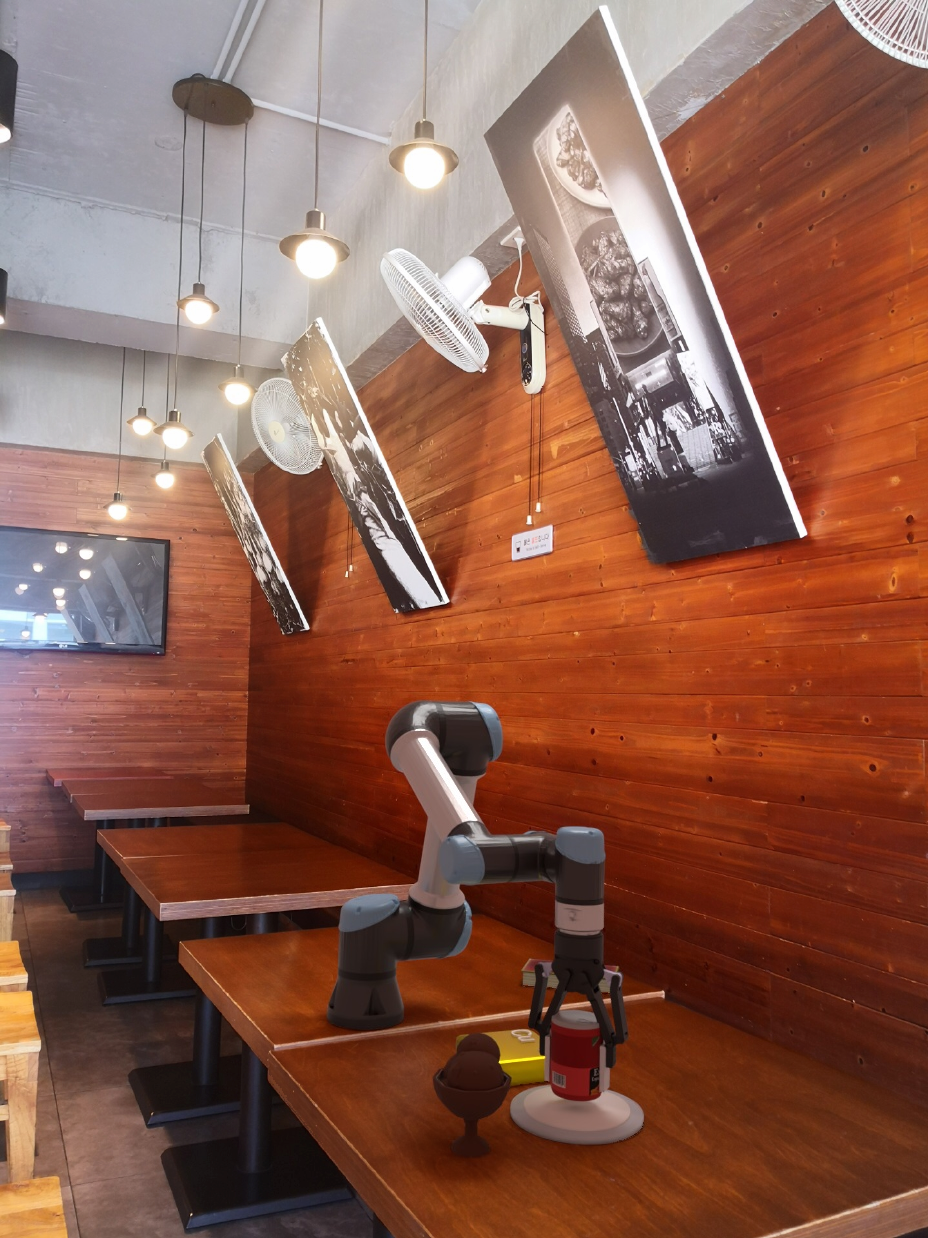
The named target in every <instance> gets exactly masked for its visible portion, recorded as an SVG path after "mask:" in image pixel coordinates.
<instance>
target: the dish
mask: <svg viewBox="0 0 928 1238" xmlns="http://www.w3.org/2000/svg"><path fill="white" fill-rule="evenodd" d="M510 1117H511V1119H512V1121H513V1122H514V1123H515V1124H516V1125H517V1126H518V1127H519V1128H521V1129H523V1130H524V1131H525V1132H528V1133H529V1134H532V1135H534V1136H537V1137H538V1138H539V1137H540V1138H541V1139H542V1138H543V1139H546V1140H549V1141H554V1142H558V1143H564V1144H569V1145H571V1144H572V1145H584V1146H585V1145H586V1146H587V1145H595V1146H596V1145H605V1144H606V1145H607V1144H614V1143H618V1142H620V1141H619V1140H622V1141H625V1140H627V1139H626V1138H628V1137H630V1136H632V1135H634V1134H635V1133H637V1132H638V1131H639V1130H640V1129H641V1128H642V1129H643V1127H644V1124H643V1122H644V1119H645V1118H644V1117H645V1115H644V1111H643V1109H642V1107H641V1106H640V1105H639V1104H638V1103H637V1102H636V1101H635V1100H633V1099H631V1098H629V1097H627V1096H625V1095H623V1094H621V1093H619V1092H616V1091H614V1090H610V1089H607V1090H606V1091H605V1092H602V1093H601V1096H600V1097H599V1098H597V1099H595V1100H591V1101H571V1100H566V1099H563V1098H560V1097H558V1096H556V1095H555V1094H554V1093H553V1092H552V1089H551V1085H550V1084H547V1085H546V1084H545V1085H539V1086H535V1087H530V1088H528V1089H526V1090H523V1091H522V1092H520V1093H518V1094H517V1095H515V1096H514V1097H513V1098H512V1099H511V1102H510ZM644 1123H645V1122H644ZM642 1126H643V1127H642ZM642 1129H641V1130H642ZM641 1130H640V1131H641ZM640 1131H639V1132H640ZM637 1134H638V1133H637ZM634 1136H635V1135H634ZM632 1137H633V1136H632ZM630 1138H631V1137H630ZM624 1139H625V1140H624ZM628 1139H629V1138H628ZM617 1141H618V1142H617ZM613 1142H614V1143H613Z"/></svg>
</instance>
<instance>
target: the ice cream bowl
mask: <svg viewBox="0 0 928 1238" xmlns="http://www.w3.org/2000/svg"><path fill="white" fill-rule="evenodd" d="M482 1033H483V1032H474V1033H468V1034H469V1035H468V1036H466V1037H465V1038H464V1039H462V1040H461V1041H460V1042H459V1044H458V1046H457V1049H456V1048H455V1053H454V1054H453V1055H452V1056H451V1057H449V1059H448V1060H447V1062H446V1064H445V1065H444V1067H442V1068H438V1069H437V1070H436V1072H435V1074H434V1075H433V1076H432V1084H433V1089H434V1091H435V1094H436V1097H437V1098H438V1100H439V1101H440V1102H441V1103H442V1105H444V1107H445V1108H446V1109H448V1111H449V1112H450V1113H451V1114H453V1115H454V1116H455V1117H456V1118H460V1119H463V1122H464V1134H463V1135H461V1136H458V1137H457V1138H455V1139H454V1140H453V1141H452V1144H451V1146H450V1150H451V1151H452V1152H453V1153H454V1155H458V1156H461V1157H464V1158H481V1157H483V1156H486V1155H488V1154H489V1153H490V1150H491V1145H490V1143H489V1142H488V1141H487V1140H485V1139H484V1138H483V1137H482V1136H479V1135H478V1123H479V1120H481V1119H485V1118H488V1117H489V1116H491V1115H493V1114H494V1113H495V1112H496V1111H497V1110H499V1109H500V1108H501V1107H502V1106H503V1104H504V1101H505V1099H506V1098H507V1095H508V1093H509V1090H510V1088H511V1086H510V1084H511V1079H512V1077H511V1076H509V1075H508V1074H507V1073H506V1072H504V1071H503V1069H502V1067H501V1065H500V1063H499V1060H500V1056H501V1055H500V1049H499V1047H498V1045H497V1043H496V1041H495V1040H494V1039H493V1038H492V1037H490V1036H488V1035H486V1034H482ZM456 1051H457V1052H456Z"/></svg>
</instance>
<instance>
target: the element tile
mask: <svg viewBox="0 0 928 1238" xmlns="http://www.w3.org/2000/svg"><path fill="white" fill-rule="evenodd" d="M481 1033H482V1034H486V1035H488V1036H490V1037H492V1038H493V1039H494V1040H495V1041H496V1043H497V1045H498V1047H499V1049H500V1055H501V1056H500V1060H499V1063H500V1065H501V1067H502V1069H503V1071H504V1072H506V1073H507V1074H508V1075H509V1076H511V1077H512V1079H511V1084H510V1087H513V1086H521V1085H520V1084H523V1085H530V1084H529V1083H532V1084H534V1083H533V1082H540V1083H545V1082H544V1076H545V1056H541V1055H540V1053H539V1040H540V1035H539V1034H537V1032H535V1031H533V1030H532V1029H530V1028H528V1029H527V1028H521V1029H511V1030H502V1031H499V1030H498V1031H488V1032H481ZM469 1034H470V1033H467V1034H460V1035H458V1036H457V1037H456V1038H455V1039H456V1040H455V1053H456V1052H457V1051H456V1049H457V1046H458V1044H459V1042H460V1041H461V1040H462V1039H464V1038H465V1037H466V1036H468V1035H469Z"/></svg>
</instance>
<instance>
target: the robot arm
mask: <svg viewBox="0 0 928 1238" xmlns="http://www.w3.org/2000/svg"><path fill="white" fill-rule="evenodd" d="M502 728H503V727H502V724H501V721H500V718H499V715H498V713H497V712H496V710H495V709H494V708H493V707H492V706H491V705H489V704H487V703H480V702H473V701H469V700H468V701H461V700H460V701H459V700H458V701H453V700H449V701H447V700H426V699H425V700H424V699H423V700H422V699H421V700H416V701H412V702H409V703H408V704H406V705H404V706H403V707H401V708H400V709H399V710H398V711H397V712H396V713H395V714H394V715H393V716H392V718H391V719H390V721H389V723H388V726H387V729H386V731H385V737H384V738H385V739H384V740H385V743H384V744H385V751H386V754H387V757H388V758H389V760H390V762H391V764H392V766H393V767H394V768H395V770H397V771H398V772H400V773H403V774H404V776H405V778H406V780H407V781H408V783H409V785H410V787H411V788H412V790H413V792H414V794H415V796H416V798H417V799H418V802H419V803H420V804H421V807H422V809H423V810H424V813H425V814H426V815H427V821H426V828H425V829H426V830H425V835H424V840H423V841H424V842H423V846H422V855H421V861H420V866H419V872H418V873H419V874H418V878H417V882H415V883H414V884H412V885H411V886H410V887H409V890H408V896H407V899H406V900H400V899H399V897H398V895H396V894H393V893H372V894H364V895H360V896H356V897H354V898H351V899H349V900H347V901H346V902H344V904H343V905H342V907H341V909H340V916H339V923H338V931H339V932H338V957H337V959H338V960H337V962H338V963H337V979H336V982H335V984H334V986H333V989H332V992H331V995H330V999H329V1002H328V1004H327V1007H326V1008H327V1011H326V1014H327V1015H326V1019H327V1021H328V1023H330V1024H331V1025H334V1026H336V1027H340V1028H344V1029H348V1030H349V1029H351V1030H358V1031H359V1030H365V1031H368V1030H380V1029H386V1028H387V1029H388V1028H391V1027H394V1026H397V1025H399V1024H401V1023H402V1022H403V1021H404V1016H405V1006H404V1002H403V999H402V995H401V992H400V988H399V984H398V979H397V964H398V962H405V961H406V962H407V961H417V960H418V961H419V960H420V961H421V960H429V959H430V960H431V959H436V960H441V959H445V958H447V957H455V956H457V955H459V954H460V953H462V952H463V951H464V950H465V949H466V947H467V945H468V943H469V942H470V941H469V940H470V938H471V935H472V928H473V921H472V919H471V918H472V916H473V915H472V910H471V907H470V905H469V902H467V900H466V897H465V894H464V893H463V891H462V890H461V889H460V886H461V885H465V886H475V885H485V884H487V885H488V884H500V883H501V884H502V883H521V882H522V883H523V882H524V883H525V882H541V881H543V882H548V883H552V884H554V887H555V889H554V890H555V893H554V894H555V895H554V896H555V897H554V898H555V899H554V902H555V903H554V904H555V905H554V906H555V907H554V910H555V911H554V925H555V927H556V928H557V929H556V930H555V931H554V944H553V945H554V949H553V950H554V957H553V959H552V960H551V961H552V962H550V963H546V962H545V961H541V962H540V963H538V964H536V965H535V967H534V970H535V977H536V982H535V987H533V994H532V1000H531V1004H530V1009H529V1014H528V1015H529V1016H528V1020H527V1021H528V1022H527V1028H528V1029H529V1030H535V1031H537V1032H538V1035H539V1036H540V1040H539V1053H540V1055H541V1056H545V1076H544V1081H548V1083H550V1074H551V1020H552V1016H554V1015H555V1014H556V1013H558V1012H559V1011H561V1010H560V1009H561V1008H562V1005H563V1003H564V1000H565V999H566V996H567V994H568V993H578V994H580V995H585V996H586V1000H587V1001H588V1002H589V1004H590V1007H591V1009H592V1013H594V1015H595V1017H596V1020H597V1023H599V1028H600V1031H601V1034H602V1036H603V1039H604V1040H603V1044H602V1045H601V1046H600V1082H599V1092H605V1091H606V1090H609V1088H610V1080H611V1079H610V1077H611V1076H610V1073H611V1072H610V1069H613V1068H614V1067H615V1065H616V1063H617V1045H623V1044H625V1042H626V1041H627V1040H628V1039H629V1035H630V1034H629V1028H628V1021H627V1016H626V1008H625V1002H624V995H623V989H622V987H623V982H624V973H623V972H622V971H619V972H617V973H615V972H612V971H609V970H606V968H605V963H604V933H603V931H601V930H603V928H604V927H605V925H604V923H605V922H604V921H605V919H604V918H605V916H604V915H605V914H604V913H605V908H604V907H605V903H604V902H605V901H604V897H605V874H606V873H605V871H606V870H605V869H606V868H605V865H606V856H607V855H606V852H605V836H604V833H603V831H602V830H600V829H598V828H594V827H587V826H563V827H559V828H558V829H557V832H556V834H552V833H549V832H547V831H543V830H541V831H536V830H528V831H526V832H524V833H521V834H520V833H519V834H492V833H490V831H489V830H488V828H487V827H486V824H485V823H484V822H483V820H482V818H481V817H480V815H479V814H478V813H477V811H476V809H475V808H474V801H475V795H476V788H477V783H478V780H479V779H481V778H483V777H484V776H485V775H486V774H487V768H488V764H489V763H493V762H494V761H497V759H498V758H499V757H500V755H501V753H502V752H503V742H504V739H503V738H504V737H503V735H504V734H503V729H502ZM551 970H553V972H554V974H555V976H556V977H557V979H558V981H559V983H558V985H557V988H556V989H554V994H553V997H552V999H551V1001H550V1003H549V1004H548V1008H547V1010H546V1013H545V1014H544V1017H543V1019H542V1016H543V1009H544V1004H545V999H546V993H547V983H548V976H550V975H551ZM603 977H604V978H605V979H606V981H607V985H608V986H609V987H610V994H609V997H610V1004H611V1010H612V1017H613V1018H612V1020H613V1024H614V1025H613V1024H612V1020H611V1018H610V1014H609V1012H608V1009H607V1007H606V1004H605V1002H604V999H603V996H602V995H603V994H602V993H601V990H600V987H599V983H600V981H601V980H602V979H603Z"/></svg>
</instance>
